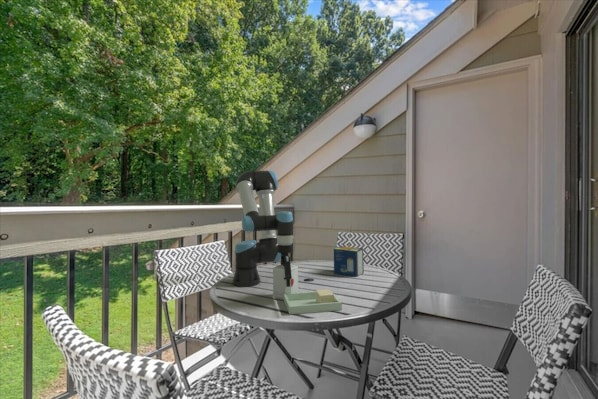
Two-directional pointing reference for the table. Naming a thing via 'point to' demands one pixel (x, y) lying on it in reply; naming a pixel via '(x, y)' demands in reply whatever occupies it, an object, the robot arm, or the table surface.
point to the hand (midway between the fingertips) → (286, 289)
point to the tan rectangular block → (324, 296)
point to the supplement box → (280, 282)
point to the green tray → (308, 303)
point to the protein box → (348, 261)
